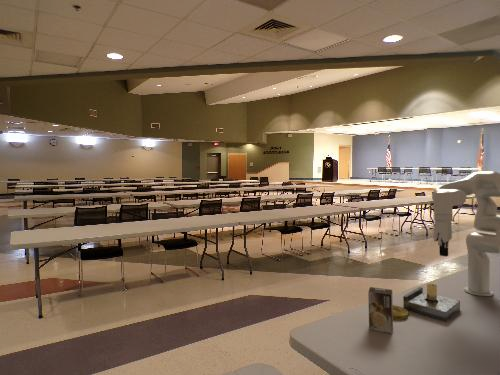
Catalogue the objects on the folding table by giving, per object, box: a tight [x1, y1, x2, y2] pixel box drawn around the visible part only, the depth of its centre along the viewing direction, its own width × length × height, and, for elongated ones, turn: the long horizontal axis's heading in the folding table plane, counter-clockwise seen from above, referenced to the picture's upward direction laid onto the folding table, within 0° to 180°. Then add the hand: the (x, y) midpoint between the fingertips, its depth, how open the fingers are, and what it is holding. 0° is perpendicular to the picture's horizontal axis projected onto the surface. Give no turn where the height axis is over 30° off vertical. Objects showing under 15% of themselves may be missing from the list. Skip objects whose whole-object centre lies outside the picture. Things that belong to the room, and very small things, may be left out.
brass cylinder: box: [426, 282, 438, 303], centre depth 154 cm, size 4×4×10 cm
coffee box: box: [367, 286, 394, 334], centre depth 137 cm, size 9×6×16 cm
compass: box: [393, 304, 409, 321], centre depth 151 cm, size 12×12×2 cm
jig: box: [402, 286, 461, 323], centre depth 154 cm, size 18×18×6 cm
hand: (443, 255), depth 157 cm, fingers closed
